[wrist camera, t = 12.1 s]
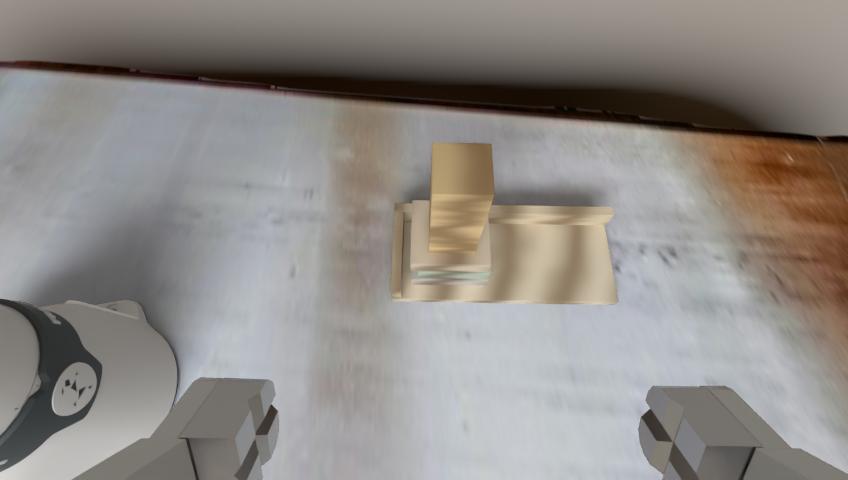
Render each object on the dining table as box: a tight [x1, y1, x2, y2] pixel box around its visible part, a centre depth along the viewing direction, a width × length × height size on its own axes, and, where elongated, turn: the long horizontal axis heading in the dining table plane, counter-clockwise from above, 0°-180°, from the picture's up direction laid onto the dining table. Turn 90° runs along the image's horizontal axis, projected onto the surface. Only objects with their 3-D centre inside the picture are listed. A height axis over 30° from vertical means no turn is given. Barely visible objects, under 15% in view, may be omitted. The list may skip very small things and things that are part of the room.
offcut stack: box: [410, 200, 491, 286], centre depth 42 cm, size 8×7×6 cm
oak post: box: [429, 143, 495, 253], centre depth 34 cm, size 4×4×11 cm
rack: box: [391, 203, 618, 305], centre depth 44 cm, size 24×10×4 cm, turn 89°
